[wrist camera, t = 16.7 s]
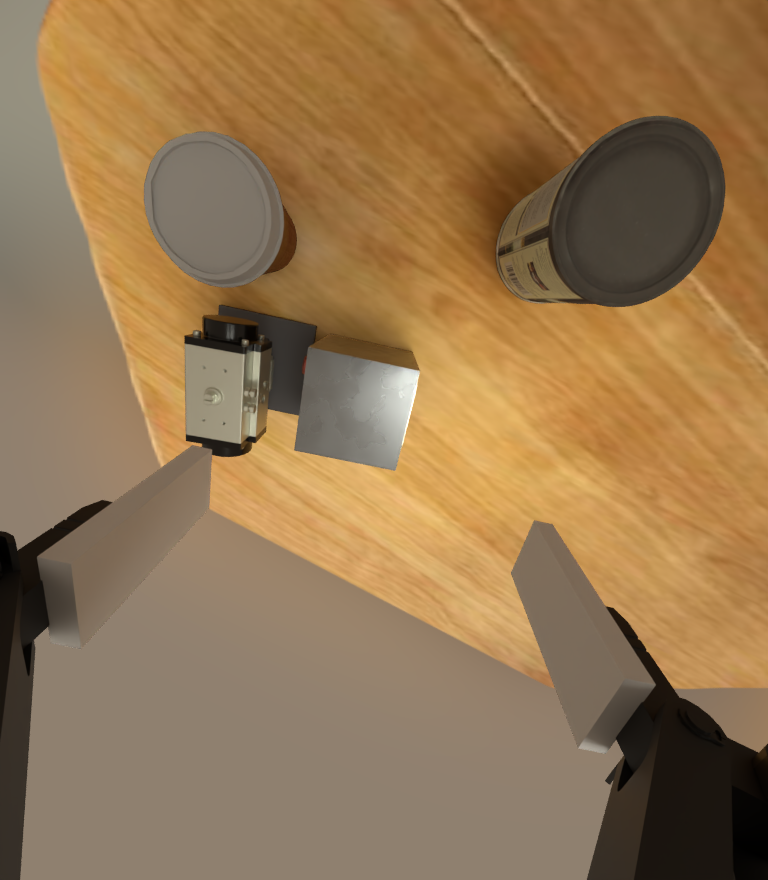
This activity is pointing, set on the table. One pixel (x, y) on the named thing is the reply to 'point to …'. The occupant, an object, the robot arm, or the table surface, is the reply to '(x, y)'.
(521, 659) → the table surface
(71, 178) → the table surface
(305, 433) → the block
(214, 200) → the disposable coffee cup
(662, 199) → the coffee can
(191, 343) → the pneumatic valve
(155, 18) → the table surface
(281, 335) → the pad
